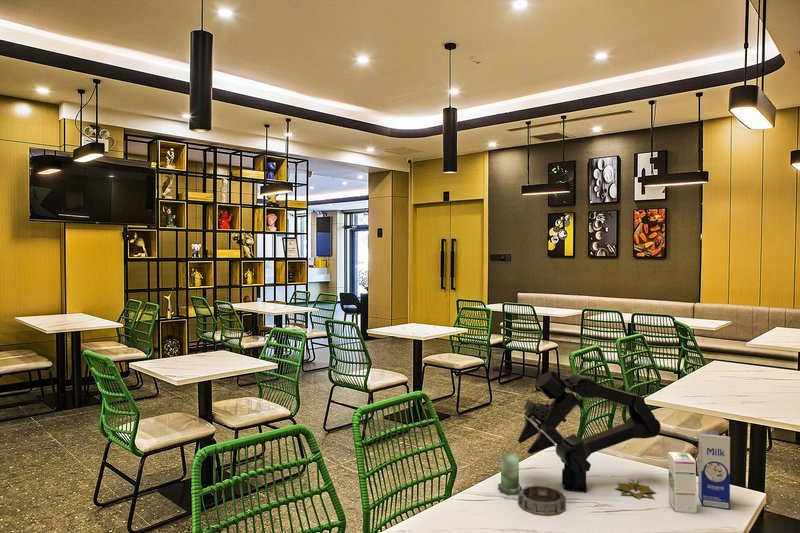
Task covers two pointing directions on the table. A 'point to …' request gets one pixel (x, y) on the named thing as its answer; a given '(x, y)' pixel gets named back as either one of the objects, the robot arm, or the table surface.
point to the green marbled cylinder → (509, 475)
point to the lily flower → (635, 489)
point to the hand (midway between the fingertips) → (523, 447)
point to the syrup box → (682, 482)
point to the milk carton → (714, 470)
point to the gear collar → (542, 500)
